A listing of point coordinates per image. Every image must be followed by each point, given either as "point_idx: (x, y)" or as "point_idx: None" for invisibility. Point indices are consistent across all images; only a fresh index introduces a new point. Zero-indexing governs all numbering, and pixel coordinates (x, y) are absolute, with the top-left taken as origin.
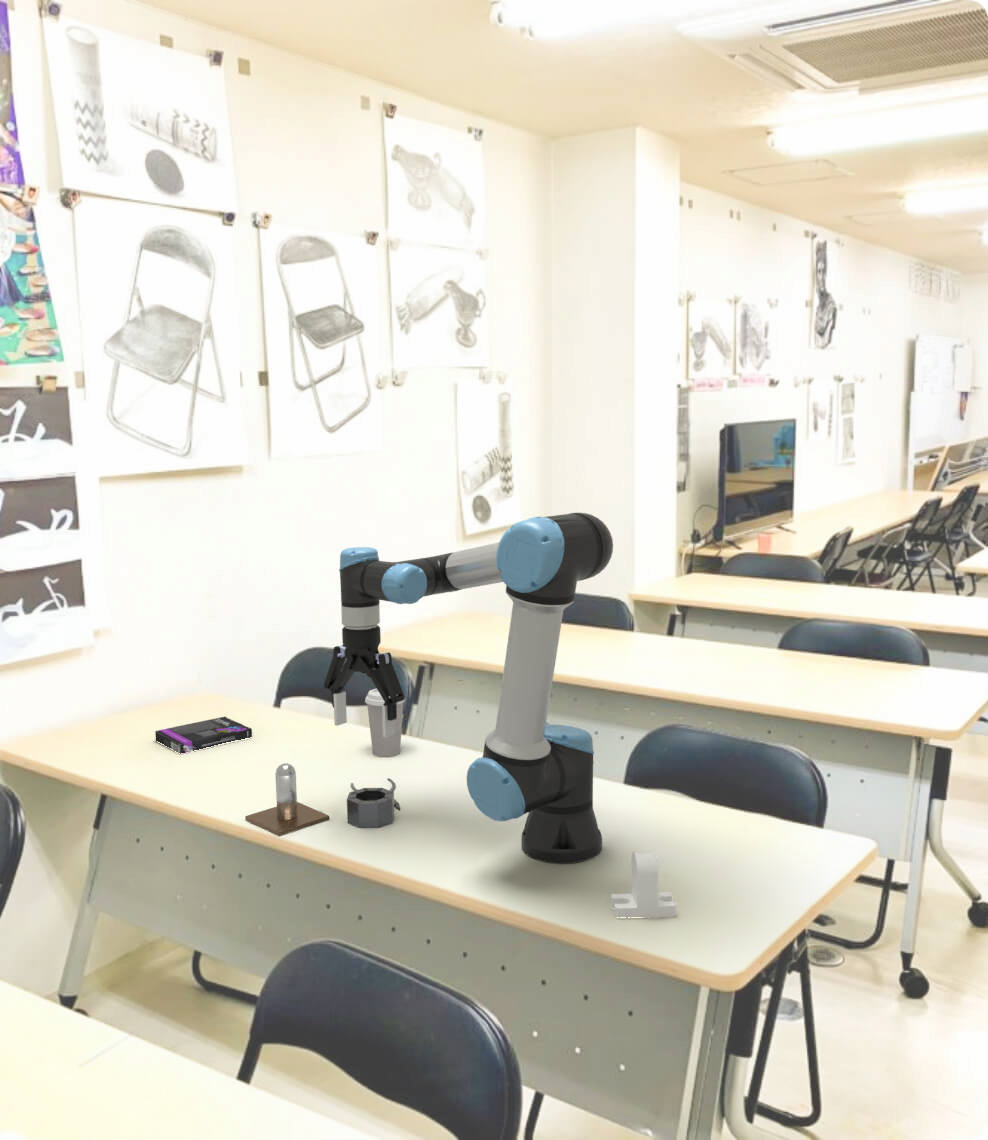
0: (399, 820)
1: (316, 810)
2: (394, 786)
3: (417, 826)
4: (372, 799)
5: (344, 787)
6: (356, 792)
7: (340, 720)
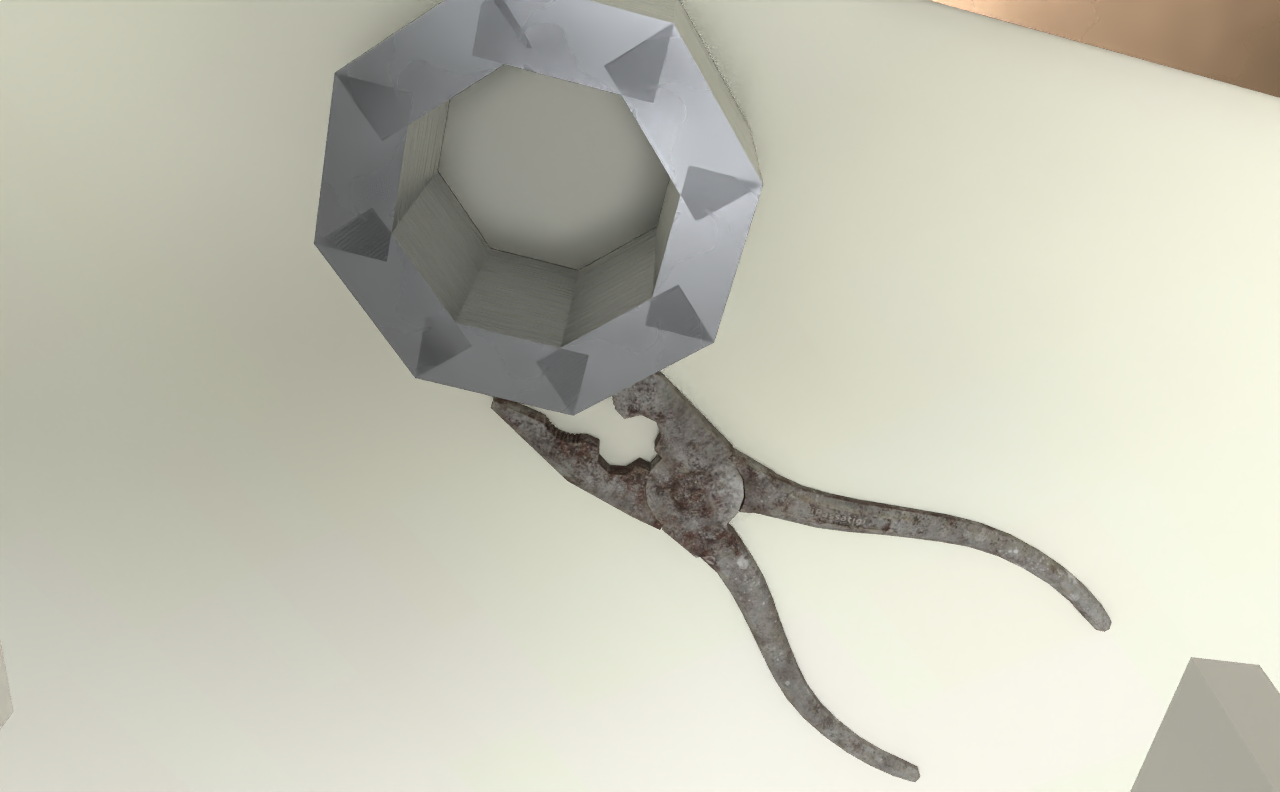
0: None
1: (1044, 25)
2: (786, 690)
3: (174, 213)
4: (609, 291)
5: (1124, 559)
6: (701, 216)
7: (1192, 784)
